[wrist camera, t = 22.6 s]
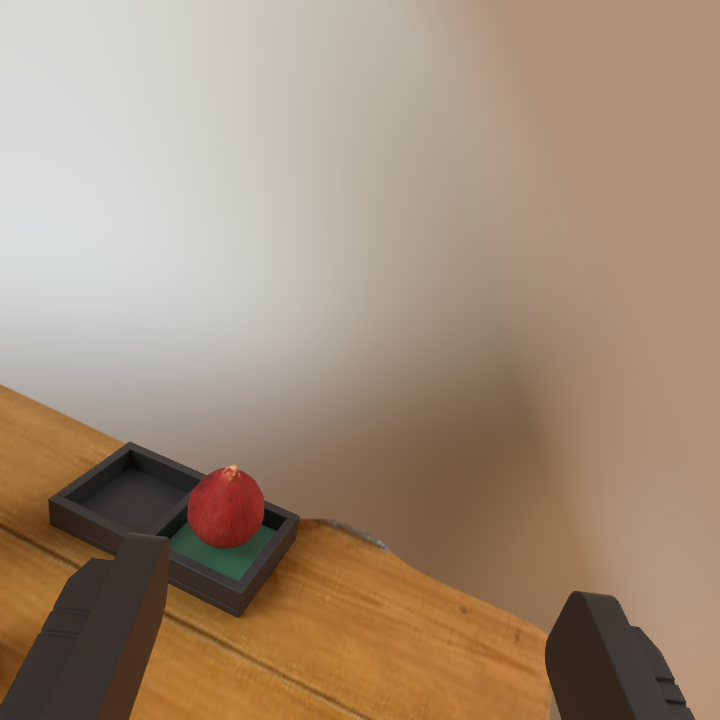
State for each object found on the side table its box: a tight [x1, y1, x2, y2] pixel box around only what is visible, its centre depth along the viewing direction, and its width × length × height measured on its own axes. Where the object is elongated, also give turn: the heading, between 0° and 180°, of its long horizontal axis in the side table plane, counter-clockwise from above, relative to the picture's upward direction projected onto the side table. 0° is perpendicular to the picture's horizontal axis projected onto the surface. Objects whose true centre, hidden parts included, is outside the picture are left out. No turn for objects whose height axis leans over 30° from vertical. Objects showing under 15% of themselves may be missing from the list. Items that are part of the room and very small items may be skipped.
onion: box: [187, 465, 264, 549], centre depth 45 cm, size 6×6×8 cm
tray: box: [48, 442, 300, 618], centre depth 48 cm, size 9×17×3 cm, turn 68°
